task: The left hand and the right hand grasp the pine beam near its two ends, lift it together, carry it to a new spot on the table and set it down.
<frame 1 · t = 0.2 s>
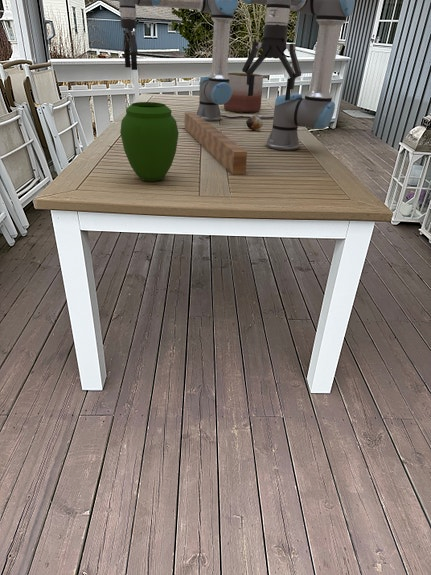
left hand: (131, 68, 208), 28 cm above the table, tool pointing down, fingers open, 13 cm apart
right hand: (268, 98, 141), 27 cm above the table, tool pointing down, fingers open, 13 cm apart
beam: (209, 147, 190), on the table
vase: (151, 178, 146), on the table
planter: (241, 110, 282), on the table
seashell: (253, 130, 227), on the table
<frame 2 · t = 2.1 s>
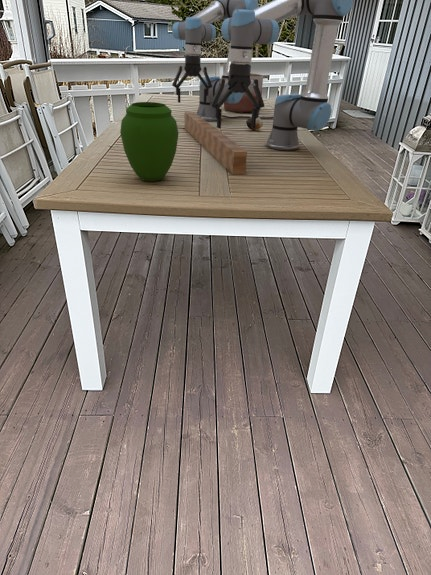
left hand: (192, 102, 210), 14 cm above the table, tool pointing down, fingers open, 13 cm apart
right hand: (236, 127, 153), 16 cm above the table, tool pointing down, fingers open, 13 cm apart
nothing on the table moved.
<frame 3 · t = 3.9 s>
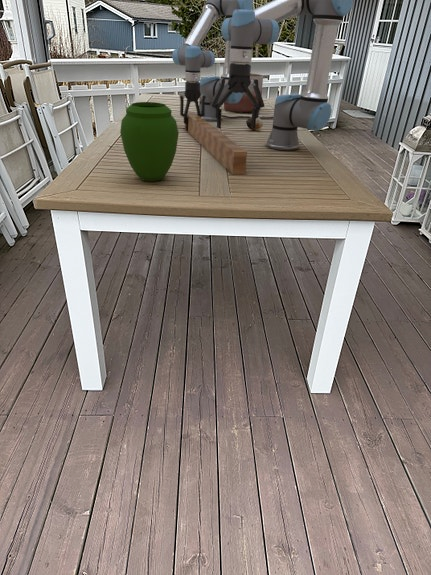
left hand: (192, 130, 218), 1 cm above the table, tool pointing down, fingers closed on beam, 5 cm apart
right hand: (236, 127, 153), 16 cm above the table, tool pointing down, fingers open, 13 cm apart
beam: (209, 147, 190), on the table, touching left hand
everything else where it was.
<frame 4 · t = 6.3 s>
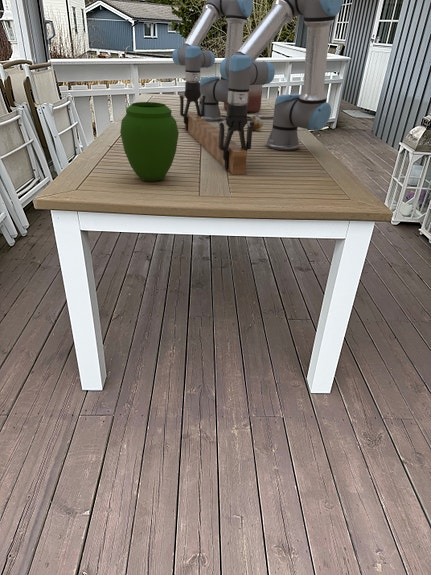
left hand: (192, 130, 218), 1 cm above the table, tool pointing down, fingers closed on beam, 5 cm apart
right hand: (233, 167, 161), 1 cm above the table, tool pointing down, fingers closed on beam, 5 cm apart
beam: (209, 147, 190), on the table, touching left hand, right hand
everything else where it was.
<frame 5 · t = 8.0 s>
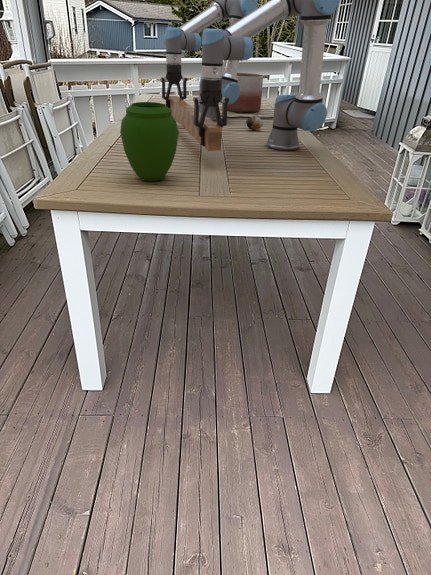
left hand: (174, 113, 217), 8 cm above the table, tool pointing down, fingers closed on beam, 5 cm apart
right hand: (209, 144, 160), 8 cm above the table, tool pointing down, fingers closed on beam, 5 cm apart
beam: (189, 128, 189), point 7 cm above the table, touching left hand, right hand
everything else where it was.
when the left hand's fingers open (2 cm above the table, at t = 10.0 s): beam drops 1 cm, on the table.
when the right hand's fingers open (2 cm above the table, at t = 10.0 s): beam drops 1 cm, on the table.
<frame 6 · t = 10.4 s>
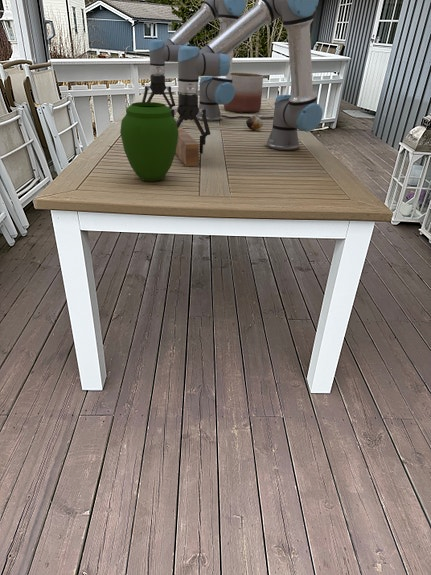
left hand: (158, 120, 222), 3 cm above the table, tool pointing down, fingers open, 10 cm apart
right hand: (187, 153, 166), 3 cm above the table, tool pointing down, fingers open, 10 cm apart
beam: (171, 141, 196), on the table
everything else where it was.
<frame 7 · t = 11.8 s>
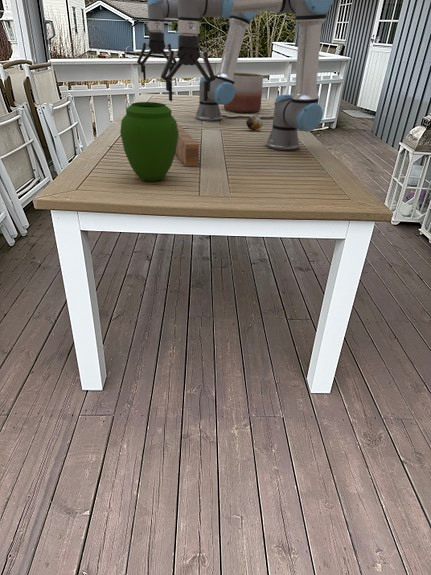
left hand: (157, 80, 212), 23 cm above the table, tool pointing down, fingers open, 13 cm apart
right hand: (188, 100, 155), 23 cm above the table, tool pointing down, fingers open, 13 cm apart
nothing on the table moved.
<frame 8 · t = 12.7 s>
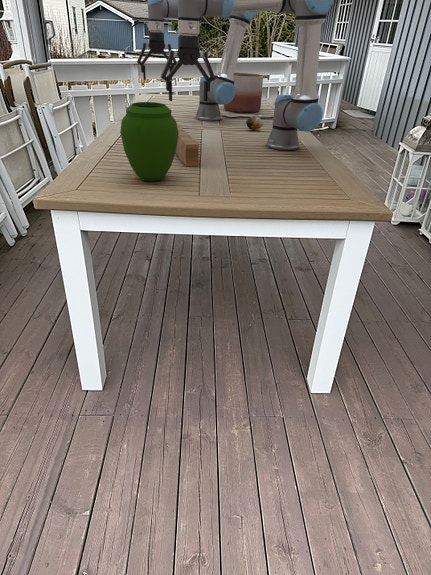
left hand: (157, 80, 212), 23 cm above the table, tool pointing down, fingers open, 13 cm apart
right hand: (188, 100, 155), 23 cm above the table, tool pointing down, fingers open, 13 cm apart
nothing on the table moved.
at the end: beam inside the target area (0.2 cm from its centre), on the table; beam tilted 0°; beam never tilted more than 2° during the clip; both hands held the beam at the same time; the left hand is holding nothing; the right hand is holding nothing; beam at rest at the end (0.0 cm/s) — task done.
